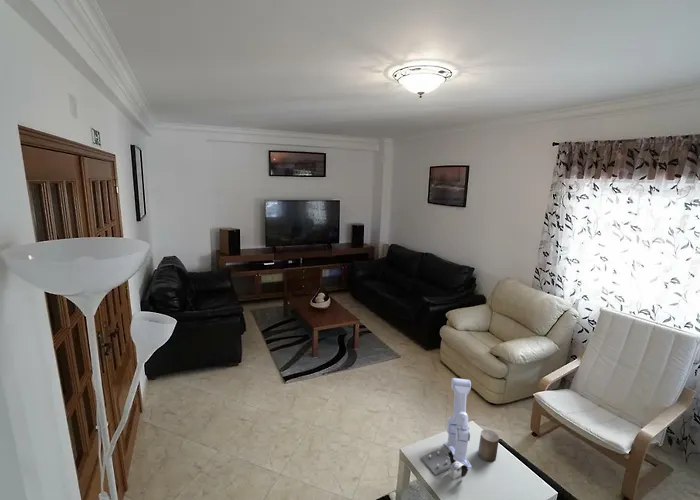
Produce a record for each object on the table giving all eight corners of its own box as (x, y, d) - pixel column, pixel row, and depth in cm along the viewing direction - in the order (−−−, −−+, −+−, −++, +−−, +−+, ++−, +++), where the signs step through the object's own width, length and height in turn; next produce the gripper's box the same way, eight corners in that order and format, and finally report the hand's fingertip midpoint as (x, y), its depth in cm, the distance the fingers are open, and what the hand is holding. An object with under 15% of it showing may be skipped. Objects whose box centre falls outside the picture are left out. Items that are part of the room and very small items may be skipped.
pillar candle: (498, 462, 195) (502, 440, 191) (481, 461, 195) (484, 439, 192) (492, 448, 204) (495, 427, 201) (475, 448, 205) (478, 426, 201)
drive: (461, 467, 191) (463, 458, 190) (467, 472, 188) (468, 463, 186) (447, 473, 187) (449, 464, 185) (453, 479, 183) (454, 470, 182)
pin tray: (440, 450, 202) (440, 446, 201) (455, 466, 192) (455, 461, 191) (421, 458, 196) (421, 454, 195) (435, 475, 186) (435, 470, 185)
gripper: (445, 441, 188) (443, 462, 191) (465, 462, 176) (462, 484, 179) (455, 437, 191) (452, 458, 194) (475, 457, 179) (472, 478, 182)
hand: (458, 470), depth 187 cm, fingers open, 7 cm apart
